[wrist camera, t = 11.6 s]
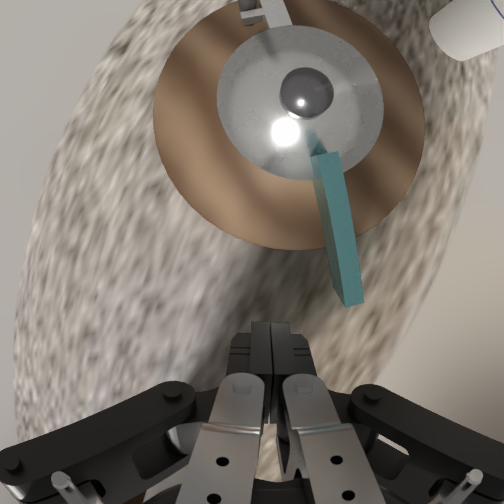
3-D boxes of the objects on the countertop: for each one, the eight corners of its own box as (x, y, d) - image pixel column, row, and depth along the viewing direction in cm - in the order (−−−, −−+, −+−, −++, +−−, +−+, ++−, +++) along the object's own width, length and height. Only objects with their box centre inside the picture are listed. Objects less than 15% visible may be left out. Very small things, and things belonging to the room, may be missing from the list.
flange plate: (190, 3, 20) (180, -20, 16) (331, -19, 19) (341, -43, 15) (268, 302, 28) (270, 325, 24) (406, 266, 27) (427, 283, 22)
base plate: (292, -33, 22) (299, -70, 15) (456, 137, 27) (496, 134, 20) (109, 117, 28) (72, 107, 20) (286, 297, 33) (294, 332, 25)
